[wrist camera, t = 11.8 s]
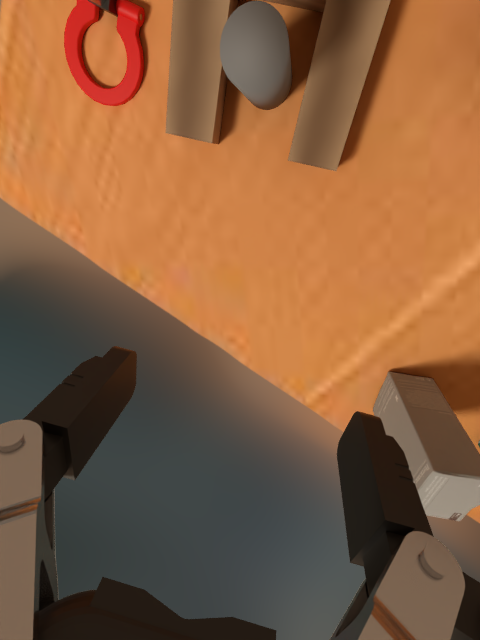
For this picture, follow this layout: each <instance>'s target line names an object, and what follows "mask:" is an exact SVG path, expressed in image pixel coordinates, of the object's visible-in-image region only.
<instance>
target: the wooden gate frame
mask: <svg viewBox="0 0 480 640" xmlns="http://www.w3.org/2000/svg"><path fill="white" fill-rule="evenodd" d="M263 1H268V2H273V3H278V4H283V5H288V6H293V7H298V8H304V9H309V10H314V11H319V12H324V13H323V17H322V21H321V25H320V29H319V33H318V37H317V42H316V46H315V50H314V54H313V58H312V62H311V66H310V71H309V75H308V79H307V83H306V87H305V91H304V95H303V100H302V104H301V108H300V112H299V116H298V120H297V124H296V129H295V133H294V137H293V141H292V145H291V149H290V153H289V158H288V160H289V161H293V162H297V163H302V164H306V165H311V166H315V167H320V168H324V169H329V170H333V171H337V167H338V164H339V161H340V158H341V155H342V152H343V149H344V145H345V142H346V139H347V136H348V133H349V130H350V127H351V123H352V120H353V117H354V114H355V111H356V108H357V105H358V101H359V98H360V95H361V92H362V89H363V86H364V83H365V79H366V76H367V73H368V70H369V67H370V64H371V61H372V57H373V54H374V51H375V48H376V45H377V42H378V39H379V35H380V32H381V29H382V26H383V23H384V20H385V17H386V13H387V10H388V7H389V4H390V1H391V0H263ZM237 5H238V0H173V14H172V31H171V49H170V66H169V83H168V101H167V118H166V133H168V134H173V135H177V136H182V137H186V138H191V139H195V140H200V141H204V142H208V143H214V144H219V138H220V131H221V123H222V116H223V108H224V101H225V94H226V86H227V79H228V77H227V75H226V73H225V71H224V69H223V66H222V63H221V58H220V40H221V35H222V31H223V28H224V26H225V24H226V22H227V20H228V18H229V17H230V15H231V14H232V13H233V12H234V11H235V10H236V9H237Z"/></svg>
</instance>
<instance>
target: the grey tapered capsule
mask: <svg viewBox="0 0 480 640" xmlns="http://www.w3.org/2000/svg"><path fill="white" fill-rule="evenodd" d="M220 58H221V63H222V66H223V69H224V71H225V73H226V75H227V77H228V78H229V80H230V81H231V82H232V83H233V84H234V85H235V86H236V87H237V88H238V89H239V90H240V91H241V92H242V93H243V94H244V96H245V97H246V98H247V99H248V100H249V101H250V102H251V103H252V104H253V105H254V106H256V107H257V108H260V109H263V110H270V109H274V108H276V107H278V106H279V105H280V104H281V103H283V101H284V100H285V99H286V97H287V96H288V94H289V92H290V89H291V85H292V69H291V58H290V48H289V37H288V31H287V27H286V24H285V22H284V20H283V18H282V16H281V15H280V13H279V12H278V11H277V10H276V9H275V8H274V7H273V6H271V5H270V4H268V3H266V2H262V1H250V2H247V3H245V4H243V5H241V6H240V7H238V8H237V9H236V10H235V11H234V12H233V13H232V14H231V15H230V17H229V18H228V20H227V22H226V24H225V26H224V28H223V31H222V35H221V40H220Z"/></svg>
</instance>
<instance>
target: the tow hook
mask: <svg viewBox="0 0 480 640" xmlns="http://www.w3.org/2000/svg"><path fill="white" fill-rule="evenodd" d="M100 8H101V9H103V10H105V11H107V12H109V13H111V14H113V15H115V16H117V17H118V19H117V31H118V33H119V34H120V36H121V38H122V40H123V42H124V45H125V48H126V52H127V71H126V73H125V76H124V78H123V80H122V81H121V83H120V84H119V85H117V86H116V87H113V88H110V89H108V88H103V87H101V86H100V85H98V84H97V83H96V82H95V81H94V80H93V79H92V78H91V77H90V75H89V73H88V72H87V70H86V68H85V65H84V62H83V58H82V51H81V48H82V39H83V35H84V33H85V31H86V29H87V28H88V27H89V26H90V25H91V24H92V23H95V22H97V21H98V19H99V9H100ZM144 19H145V12H144V9H143V8H142V7H140V6H138V5H136V4H134V3H132V2H130V1H128V0H77V6H76V7H75V8H73V10H72V12H71V14H70V15H69V17H68V19H67V23H66V28H65V32H64V47H65V53H66V59H67V62H68V65H69V68H70V71H71V73H72V75H73V77H74V79H75V80H76V82H77V84H78V85H79V86H80V88H81V89H82V90H83V91H84V92H85V94H87V95H88V96H89V97H90V98H92V99H93V100H94V101H96V102H99V103H101V104H103V105H111V106H118V105H122V104H125V103H126V102H128V101H129V100H131V99H132V98H133V97H134V95H135V94H136V92H137V91H138V89H139V87H140V84H141V81H142V78H143V70H144V59H143V50H142V46H141V42H140V39H139V31H140V26H142V25H143V23H144Z"/></svg>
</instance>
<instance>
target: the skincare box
mask: <svg viewBox="0 0 480 640" xmlns="http://www.w3.org/2000/svg"><path fill="white" fill-rule="evenodd" d="M373 412H374V415H375V416H377V417H380V418H381V420H382V423H383V426H384V430H385V433H386V435H389V436H392V437H394V439H395V440H396V442H397V443H398V444H399V446H400V447H401V448H402V450H403V451H404V454H405V456H406V459H407V462H408V465H409V470H410V471H411V474H412V477H413V479H414V480H413V483H415V485H416V488H417V491H418V494H419V497H420V499H421V502H422V505H423V508H424V511H425V514H426V515H427V516H434V517H438V518H444V519H450V520H455V521H461V519H462V518H463V517H464V516H465V515H466V514H467V513H468V512H469V511H470V510H471V509H472V508H475V507H477V506H478V505H480V454H479V452H478V451H477V449H476V448H475V446H474V444H473V443H472V441H471V439H470V438H469V436H468V435H467V433H466V431H465V430H464V428H463V427H462V425H461V423H460V422H459V420H458V419H457V417H456V415H455V414H454V412H453V410H452V409H451V407H450V406H449V404H448V402H447V401H446V399H445V397H444V396H443V394H442V393H441V391H440V389H439V388H438V386H437V385H436V383H435V381H434V380H433V379H432V378H427V377H420V376H413V375H406V374H400V373H394V372H388V374H387V377H386V379H385V381H384V383H383V385H382V387H381V390H380V392H379V394H378V397H377V399H376V402H375V405H374V408H373Z"/></svg>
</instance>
